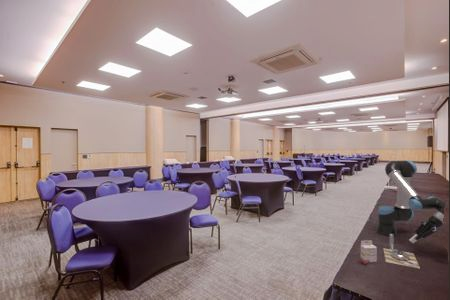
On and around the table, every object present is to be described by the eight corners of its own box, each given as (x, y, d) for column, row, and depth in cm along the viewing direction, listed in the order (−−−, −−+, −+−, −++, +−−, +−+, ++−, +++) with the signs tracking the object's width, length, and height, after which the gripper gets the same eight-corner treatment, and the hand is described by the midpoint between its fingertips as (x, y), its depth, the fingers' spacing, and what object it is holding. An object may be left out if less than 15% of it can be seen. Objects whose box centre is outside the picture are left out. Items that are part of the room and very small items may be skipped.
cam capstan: (384, 251, 169) (383, 234, 168) (396, 250, 170) (396, 233, 169) (404, 263, 152) (404, 244, 152) (418, 262, 153) (417, 242, 153)
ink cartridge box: (365, 264, 156) (364, 243, 156) (360, 261, 161) (360, 240, 161) (377, 264, 157) (377, 242, 156) (372, 260, 161) (372, 239, 161)
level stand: (383, 250, 175) (383, 247, 175) (413, 255, 166) (413, 252, 166) (386, 263, 156) (385, 261, 156) (420, 270, 147) (420, 267, 147)
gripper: (449, 226, 155) (421, 249, 159) (435, 220, 167) (409, 241, 171) (440, 218, 155) (412, 241, 159) (427, 212, 168) (401, 234, 172)
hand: (411, 241), depth 165 cm, fingers closed
